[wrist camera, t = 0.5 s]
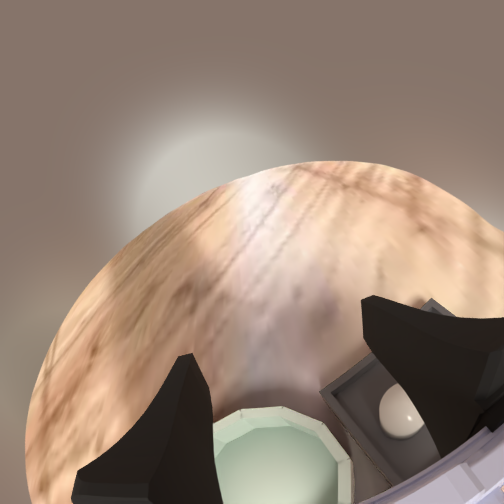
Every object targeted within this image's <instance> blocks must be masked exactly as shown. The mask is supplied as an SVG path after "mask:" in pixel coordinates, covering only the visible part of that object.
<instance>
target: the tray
mask: <svg viewBox="0 0 504 504" xmlns="http://www.w3.org/2000/svg"><path fill="white" fill-rule="evenodd" d="M420 310H424V311H428V312H432V313H436V314H441V315H447V316H453V317H456V316H455V315H453V314H452V313H451V312H449V311H448V310H447V309H445V308H444V307H443V306H441V305H440V304H439V303H438V302H436V301H435V300H433V299H432V298H431V299H430V300H429V301H428V302H427V303H426V304H425V305H424V306H423V307H422V308H421V309H420ZM395 384H398V382H397V381H396V380H395V379H394V378H393V377H392V375H391V374H390V373H389V372H388V371H387V370H386V368H385V367H384V366H383V365H382V364H381V363H380V361H379V360H378V359H377V358H376V357H375V355H374V354H373V352H371V353H370V354H369V355H368V356H366V357H365V358H364V359H363V360H361V361H360V362H359V363H357V364H356V365H355V366H354V367H352V368H351V369H350V370H348V371H347V372H346V373H344V374H343V375H342V376H340V377H339V378H338V379H336V380H335V381H333V382H332V383H331V384H329V385H328V386H326V387H325V388H324V389H322V390H321V391H319V392H320V394H321V396H322V398H323V399H324V401H325V402H326V403H327V405H328V406H329V407H330V409H331V410H332V411H333V413H334V414H335V415H336V417H337V418H338V419H339V420H340V422H341V423H342V424H343V426H344V427H345V428H346V429H347V431H348V432H349V433H350V434H351V436H352V437H353V438H354V440H355V441H356V442H357V443H358V445H359V446H360V447H361V448H362V450H363V451H364V452H365V453H366V455H367V456H368V457H369V458H370V460H371V461H372V462H373V463H374V465H375V466H376V467H377V468H378V470H379V471H380V472H381V473H382V474H383V476H384V477H385V478H386V479H387V481H388V482H389V483H390V484H391V485H392V487H394V486H396V485H398V484H400V483H402V482H404V481H406V480H408V479H409V478H411V477H413V476H415V475H416V474H418V473H420V472H422V471H423V470H425V469H427V468H428V467H430V466H431V465H433V464H435V463H436V462H438V461H439V460H441V457H440V454H439V452H438V450H437V448H436V445H435V443H434V441H433V439H432V437H431V435H430V433H429V431H428V429H427V427H426V425H425V423H424V425H423V427H422V428H421V430H420V431H419V432H418V433H417V434H416V435H414V436H413V437H411V438H409V439H406V440H393V439H391V438H389V437H387V436H386V435H385V434H384V433H383V432H382V430H381V428H380V421H379V407H380V402H381V399H382V397H383V396H384V394H385V393H386V391H387V390H388V389H389V388H391V387H392V386H394V385H395Z"/></svg>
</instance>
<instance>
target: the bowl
mask: <svg viewBox="0 0 504 504" xmlns="http://www.w3.org/2000/svg"><path fill="white" fill-rule="evenodd" d="M213 442H214V458H215V465H216V471H217V476H218V481H219V486H220V491H221V495H222V499H223V503H224V504H352V503H354V488H355V480H354V464H353V461H352V460H351V459H350V457H349V456H348V455H347V453H346V452H345V451H344V449H343V448H342V447H341V445H340V444H339V443H338V441H337V440H336V439H335V437H334V436H333V435H332V433H331V432H330V431H329V429H328V428H327V427H326V425H325V424H324V423H323V422H321V421H318V420H316V419H313V418H311V417H308V416H306V415H303V414H301V413H298V412H296V411H293V410H291V409H289V408H286V407H282V406H278V407H266V408H251V409H241V410H238V411H236V412H234V413H232V414H230V415H229V416H227V417H225V418H223V419H221V420H219V421H218V422H216V423H214V424H213Z"/></svg>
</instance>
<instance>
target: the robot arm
mask: <svg viewBox="0 0 504 504" xmlns="http://www.w3.org/2000/svg"><path fill="white" fill-rule="evenodd" d="M361 307H362V321H363V338H364V340H365V341H366V343H367V345H368V346H369V348H370V349H371V351H372V352H373V354H374V355H375V357H376V358H377V359H378V360H379V361H380V363H381V364H382V365H383V366H384V367H385V368H386V370H387V371H388V372H389V373H390V374H391V375H392V377H393V378H394V379H395V380H396V381H397V382H398V384H399V385H400V386H401V387H402V388H403V390H404V391H405V392H406V394H407V395H408V397H409V398H410V400H411V402H412V403H413V405H414V406H415V408H416V410H417V411H418V413H419V415H420V416H421V418H422V420H423V422H424V423H425V425H426V427H427V429H428V431H429V433H430V435H431V437H432V439H433V441H434V443H435V445H436V448H437V450H438V452H439V454H440V457H441V460H439V461H438V462H436V463H435V464H433V465H431V466H430V467H428V468H427V469H425V470H423V471H422V472H420V473H418V474H416V475H415V476H413V477H411V478H409V479H408V480H406V481H404V482H402V483H400V484H398V485H396V486H394V487H393V488H391V489H389V490H386V491H384V492H382V493H380V494H378V495H376V496H374V497H372V498H369V499H367V500H365V501H362V502H360V503H358V504H504V492H503V491H502V490H501V487H502V486H503V485H504V317H503V318H485V319H478V318H461V317H453V316H447V315H441V314H436V313H432V312H428V311H424V310H420V309H416V308H413V307H410V306H407V305H403V304H400V303H397V302H394V301H391V300H388V299H385V298H382V297H379V296H375V295H372V296H370V297H367V298H365V299H362V300H361ZM71 500H72V503H73V504H224V503H223V499H222V495H221V491H220V486H219V481H218V476H217V471H216V465H215V458H214V442H213V412H212V403H211V396H210V391H209V387H208V385H207V383H206V381H205V379H204V377H203V375H202V372H201V370H200V368H199V366H198V364H197V362H196V360H195V358H194V355H193V353H191V354H186V355H182V356H178V358H177V360H176V361H175V363H174V365H173V367H172V369H171V370H170V372H169V374H168V376H167V378H166V380H165V381H164V383H163V385H162V386H161V388H160V390H159V392H158V393H157V395H156V396H155V398H154V399H153V401H152V402H151V404H150V405H149V407H148V408H147V410H146V411H145V412H144V414H143V415H142V416H141V417H140V419H139V420H138V421H137V422H136V423H135V425H134V426H133V427H132V428H131V429H130V430H129V431H128V432H127V433H126V434H125V435H124V436H123V437H122V438H121V439H120V440H119V441H118V442H117V443H116V444H114V445H113V446H112V447H111V448H110V449H109V450H107V451H106V452H105V453H103V454H102V455H101V456H100V457H98V458H97V459H95V460H94V461H92V462H91V463H89V464H88V465H86V466H84V467H83V468H81V469H79V470H78V471H77V475H76V479H75V483H74V487H73V491H72V496H71Z"/></svg>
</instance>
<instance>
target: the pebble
mask: <svg viewBox="0 0 504 504" xmlns="http://www.w3.org/2000/svg"><path fill="white" fill-rule="evenodd" d="M379 421H380V428H381V430H382V432H383V433H384V434H385V435H386V436H387V437H389V438H391V439H393V440H406V439H409V438H411V437H413V436H414V435H416V434H417V433H418V432H419V431H420V430H421V428H422V427H423V425H424V422H423V420H422V418H421V416H420V415H419V413H418V411H417V410H416V408H415V406H414V405H413V403H412V402H411V400H410V398H409V397H408V395H407V394H406V392H405V391H404V390H403V388H402V387H401V386H400V385H399V384H395V385H394V386H392V387H391V388H389V389H388V390H387V391H386V393H385V394H384V396H383V397H382V399H381V402H380V407H379Z"/></svg>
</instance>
